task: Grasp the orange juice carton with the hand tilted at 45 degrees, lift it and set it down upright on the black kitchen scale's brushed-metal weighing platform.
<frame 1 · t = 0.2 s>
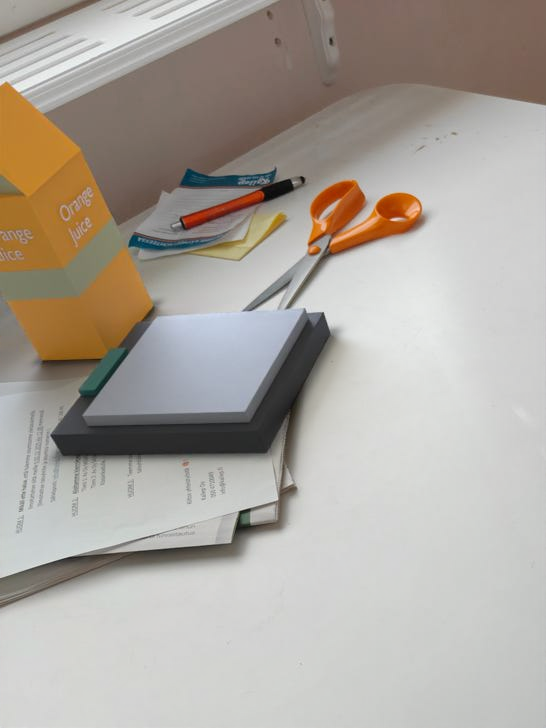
orange juice: (100, 334, 89), on the table
scale: (200, 392, 79), on the table
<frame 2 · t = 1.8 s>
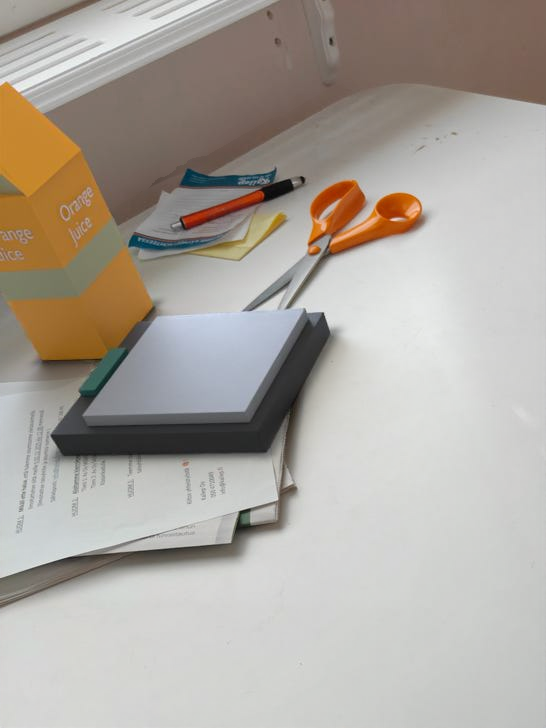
nothing on the table moved.
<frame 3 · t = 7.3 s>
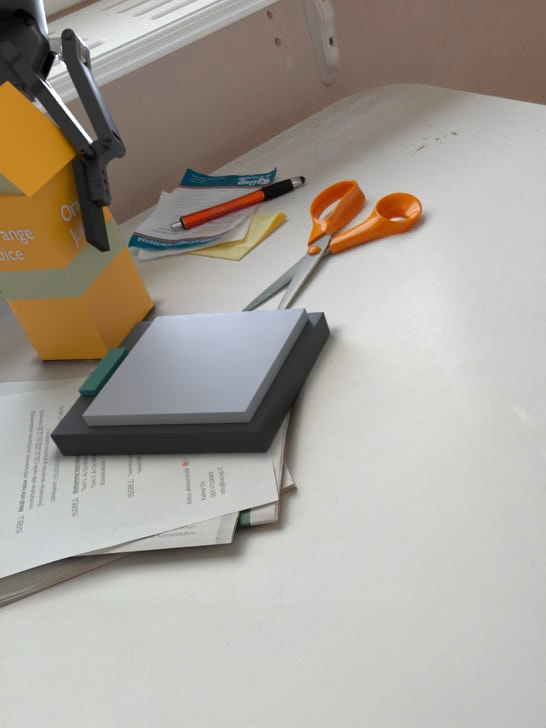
hand: (41, 257, 80), 9 cm above the table, tool tilted 45°, fingers closed on orange juice, 9 cm apart
orange juice: (100, 333, 89), on the table, touching gripper
when the fingers open (12 cm above the table, at t = 16.3 s): orange juice stays where it is, resting on scale.
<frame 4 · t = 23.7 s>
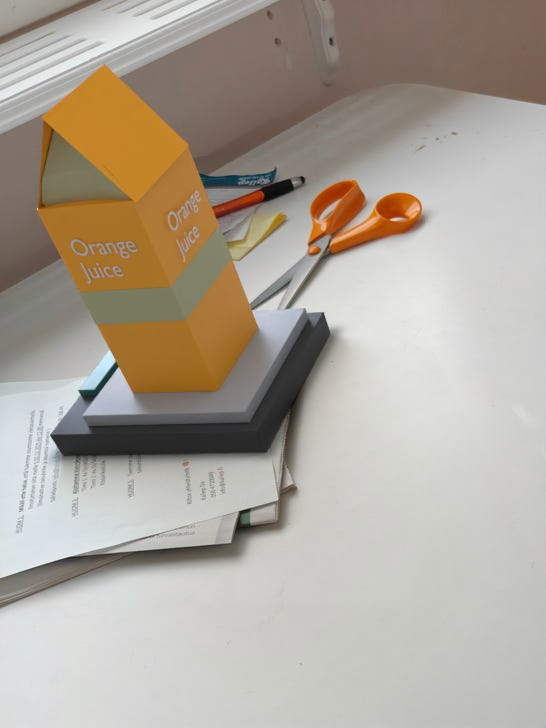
orange juice: (198, 361, 76), point 3 cm above the table, touching scale
at the end: orange juice inside the target area on the scale (0.0 cm from its centre), point 2.8 cm above the scale's base; orange juice tilted 0°; the gripper is holding nothing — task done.
